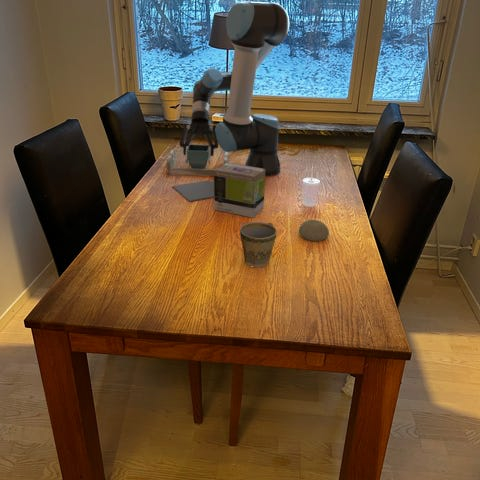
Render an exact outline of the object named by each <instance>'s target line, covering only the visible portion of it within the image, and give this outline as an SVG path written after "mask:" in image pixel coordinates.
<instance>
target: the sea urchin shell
mask: <svg viewBox="0 0 480 480" xmlns="http://www.w3.org/2000/svg"><path fill="white" fill-rule="evenodd" d="M329 231H330V230H329V228H328V226H327V225H326V224H325V223H324V222H323V221H321V220H317V219H307V220H304V221H303V222H302V224H300V225H299V228H298V234H299V235H300V237H301V238H303V239H306V240H307V241H311V242H319V241H324V240H326V239H327V238H328V237H329V235H330V232H329Z"/></svg>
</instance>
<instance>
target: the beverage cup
mask: <svg viewBox="0 0 480 480" xmlns="http://www.w3.org/2000/svg"><path fill="white" fill-rule="evenodd" d="M313 173H314V166H312V167H311V174H310V177H305V178H302V203H301V204H302V205H303V206H304V207H315V205H316V202H317V195H318V191H319V185H320V183H321V181H320V180H319V179H318V178H315V177H313Z"/></svg>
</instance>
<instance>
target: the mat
mask: <svg viewBox="0 0 480 480" xmlns="http://www.w3.org/2000/svg"><path fill="white" fill-rule="evenodd" d="M171 188H172V189H174V190H175V191H177V193H179V194H180V195H181V196H182V197H183V198H184V199H185V200H186V201H188V202H189V203H192V202H196V201H197V202H198V201H202V200H208V199H214V181H212V180H211V179H207V180H201V181H200V180H199V181H195V182H194V181H193V182H188V183H183V184H177V185H172V187H171Z"/></svg>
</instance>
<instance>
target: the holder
mask: <svg viewBox="0 0 480 480" xmlns="http://www.w3.org/2000/svg"><path fill="white" fill-rule="evenodd" d="M223 158H224V160H223V165H224V164H225V163H229V152H226V151H224V157H223ZM175 164H176V149H175V148H171V150H170V151H169V155H168V156H167V158H166V175H172V176H173V175H175V176H177V175H178V176H203V177H204V176H205V177H207V176H208V177H209V176H210V177H214V170H215V169H216V168H205V169H193V168H191V167H190V168H189V167H188V168H187V167H186V168H185V167H174V166H175Z"/></svg>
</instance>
